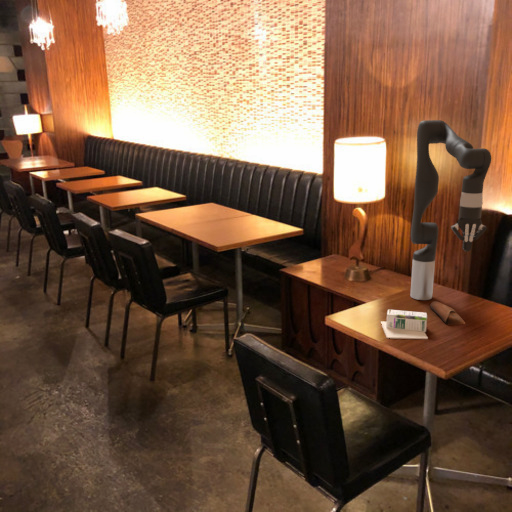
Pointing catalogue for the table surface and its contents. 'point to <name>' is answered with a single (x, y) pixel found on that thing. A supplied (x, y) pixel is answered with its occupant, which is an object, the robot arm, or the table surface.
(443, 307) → the sunglasses case
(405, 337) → the placemat
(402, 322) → the syrup box
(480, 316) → the table surface
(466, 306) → the table surface
